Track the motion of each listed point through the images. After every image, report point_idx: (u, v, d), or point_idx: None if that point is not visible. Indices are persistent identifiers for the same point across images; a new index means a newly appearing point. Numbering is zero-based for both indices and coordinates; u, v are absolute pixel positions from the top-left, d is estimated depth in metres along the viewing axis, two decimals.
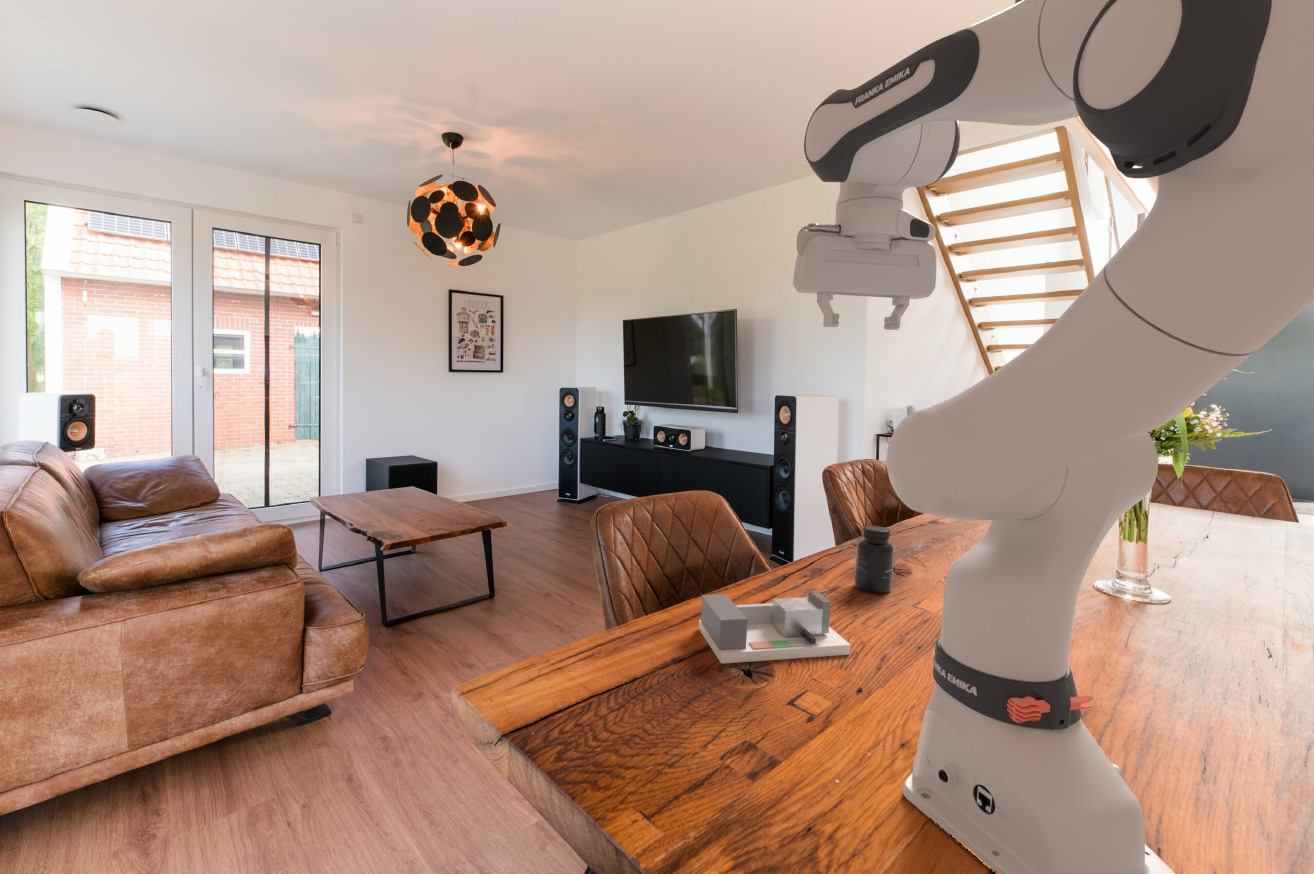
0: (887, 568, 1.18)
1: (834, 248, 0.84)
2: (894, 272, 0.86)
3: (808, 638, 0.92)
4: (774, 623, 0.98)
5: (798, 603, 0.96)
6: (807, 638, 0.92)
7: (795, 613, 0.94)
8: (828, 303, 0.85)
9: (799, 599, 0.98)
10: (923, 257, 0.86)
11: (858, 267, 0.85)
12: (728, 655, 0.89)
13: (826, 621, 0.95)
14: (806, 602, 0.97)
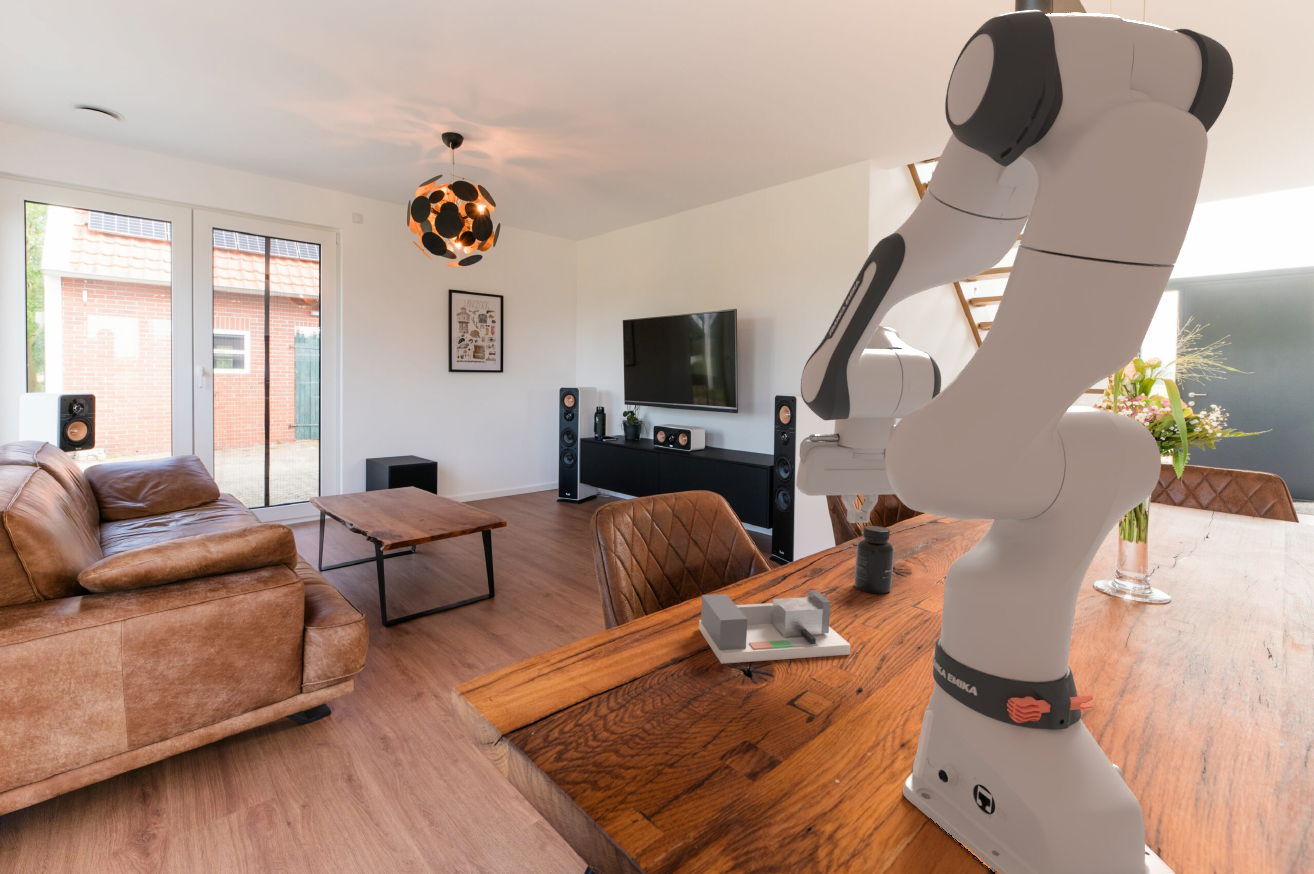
0: (887, 568, 1.18)
1: (833, 458, 0.93)
2: None
3: (808, 638, 0.92)
4: (774, 623, 0.98)
5: (798, 603, 0.96)
6: (807, 638, 0.92)
7: (795, 613, 0.94)
8: (852, 504, 0.95)
9: (799, 599, 0.98)
10: None
11: (855, 473, 0.94)
12: (728, 655, 0.89)
13: (826, 621, 0.95)
14: (806, 602, 0.97)
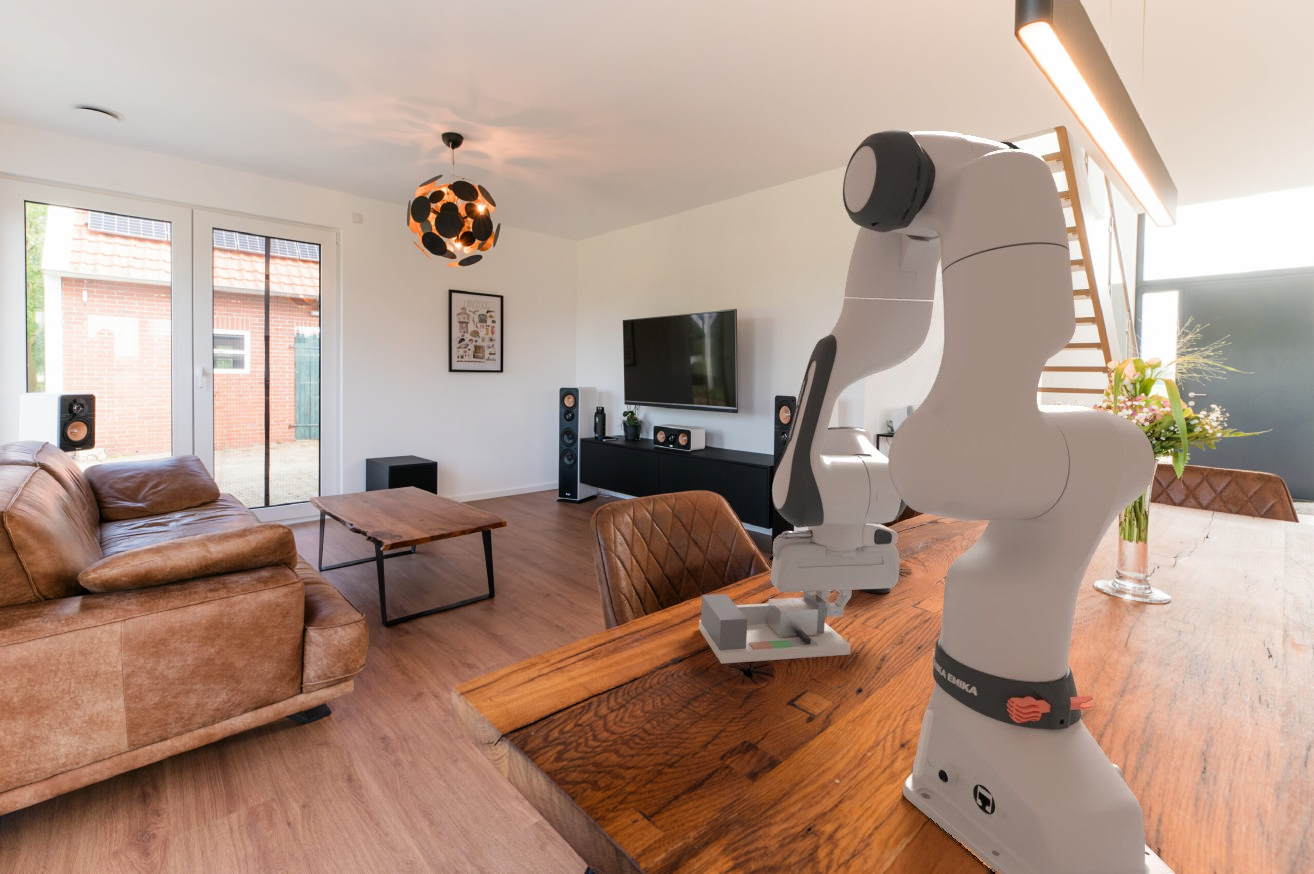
0: None
1: (806, 556, 0.94)
2: (861, 571, 0.96)
3: (803, 638, 0.92)
4: (769, 623, 0.98)
5: (794, 604, 0.96)
6: (802, 638, 0.92)
7: (790, 613, 0.94)
8: (826, 599, 0.96)
9: (794, 599, 0.98)
10: (887, 556, 0.96)
11: (828, 570, 0.95)
12: (728, 655, 0.89)
13: (821, 621, 0.95)
14: (801, 603, 0.97)
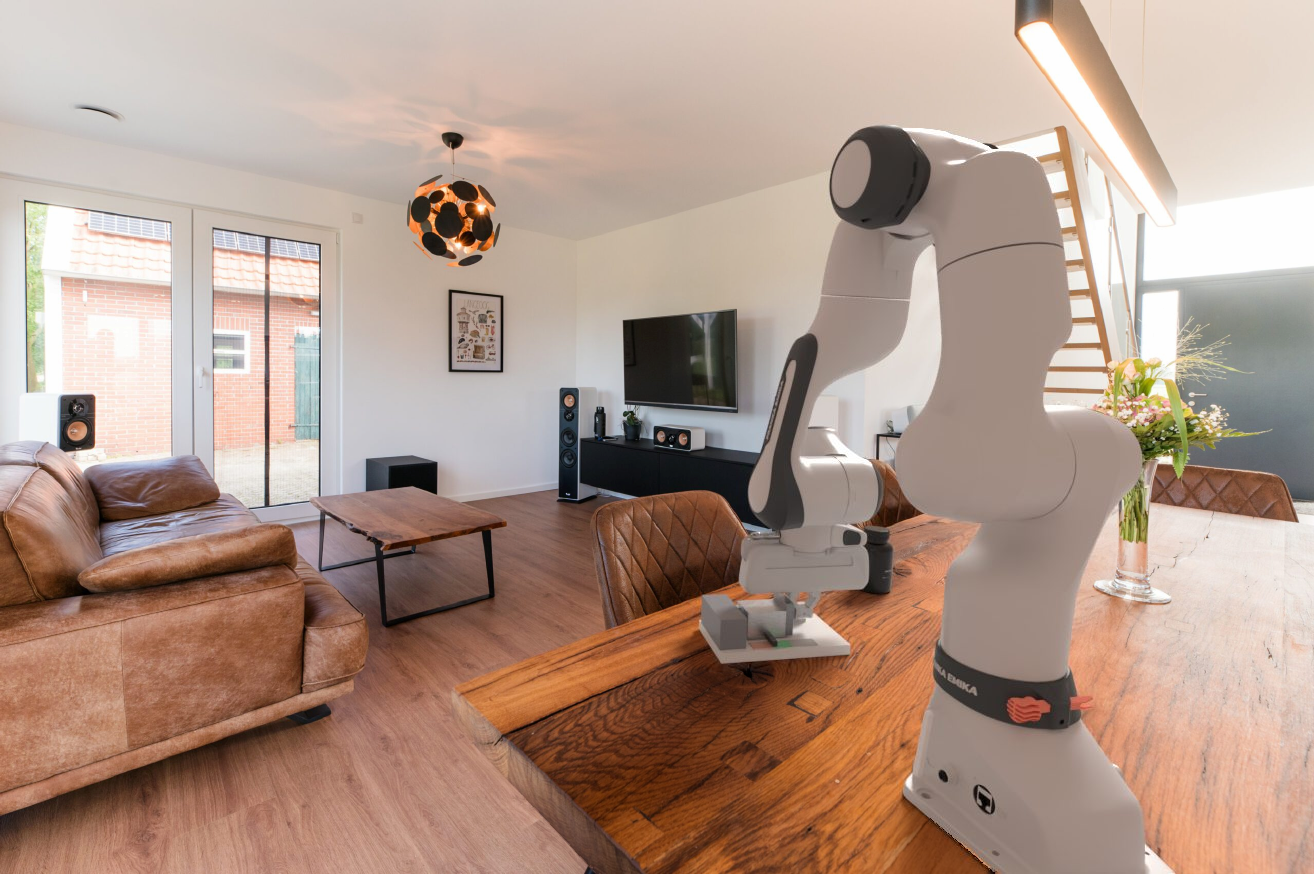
0: (887, 568, 1.18)
1: (774, 557, 0.93)
2: (830, 572, 0.95)
3: (770, 640, 0.91)
4: None
5: (762, 605, 0.95)
6: (769, 640, 0.91)
7: (758, 615, 0.93)
8: (795, 601, 0.95)
9: (764, 601, 0.97)
10: (856, 557, 0.95)
11: (797, 571, 0.94)
12: (728, 655, 0.89)
13: (790, 623, 0.94)
14: (770, 604, 0.96)
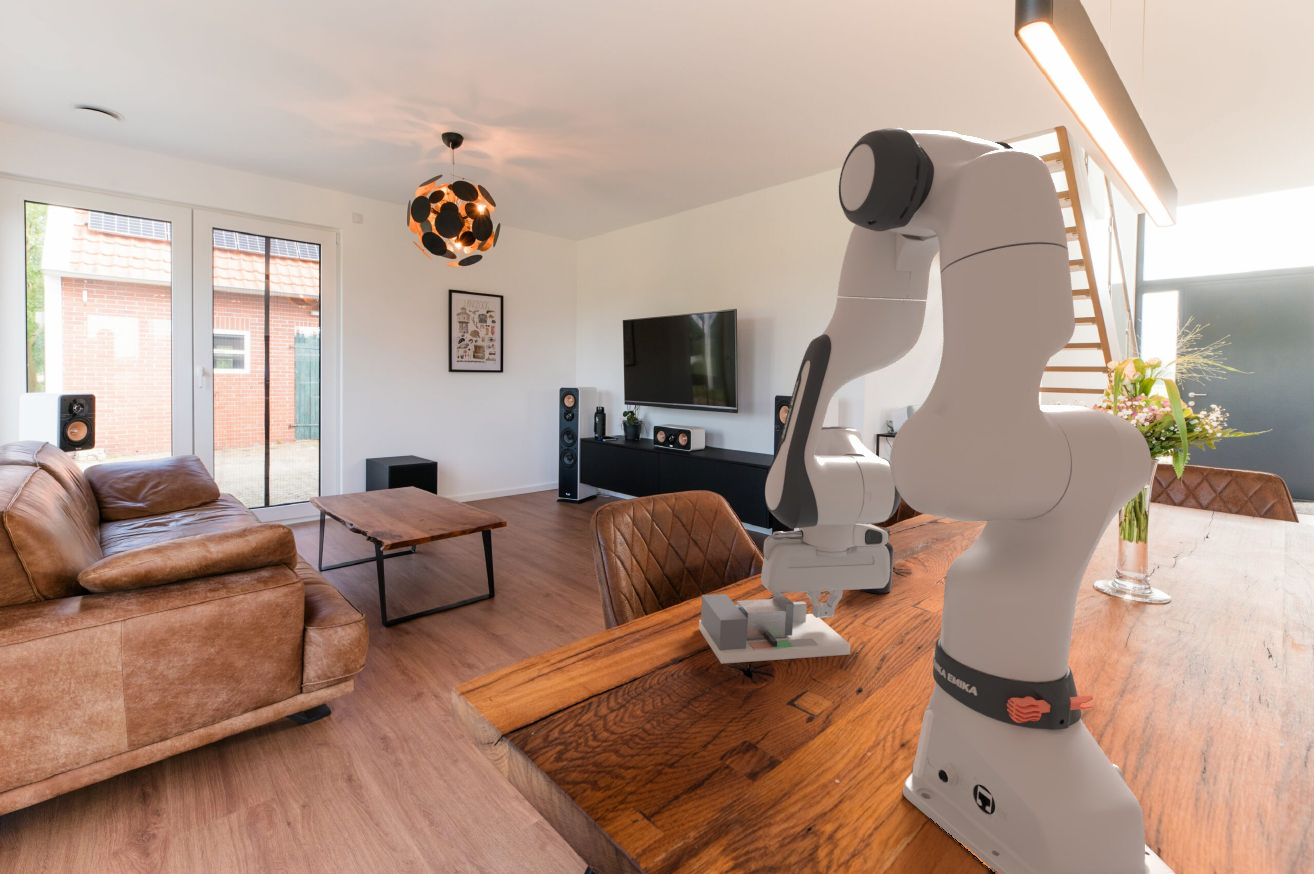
0: None
1: (797, 556, 0.94)
2: (852, 571, 0.96)
3: (770, 640, 0.91)
4: None
5: (762, 605, 0.95)
6: (769, 640, 0.91)
7: (757, 615, 0.93)
8: (816, 600, 0.96)
9: (763, 601, 0.97)
10: (877, 556, 0.96)
11: (819, 570, 0.95)
12: (728, 655, 0.89)
13: (789, 623, 0.94)
14: (770, 604, 0.96)
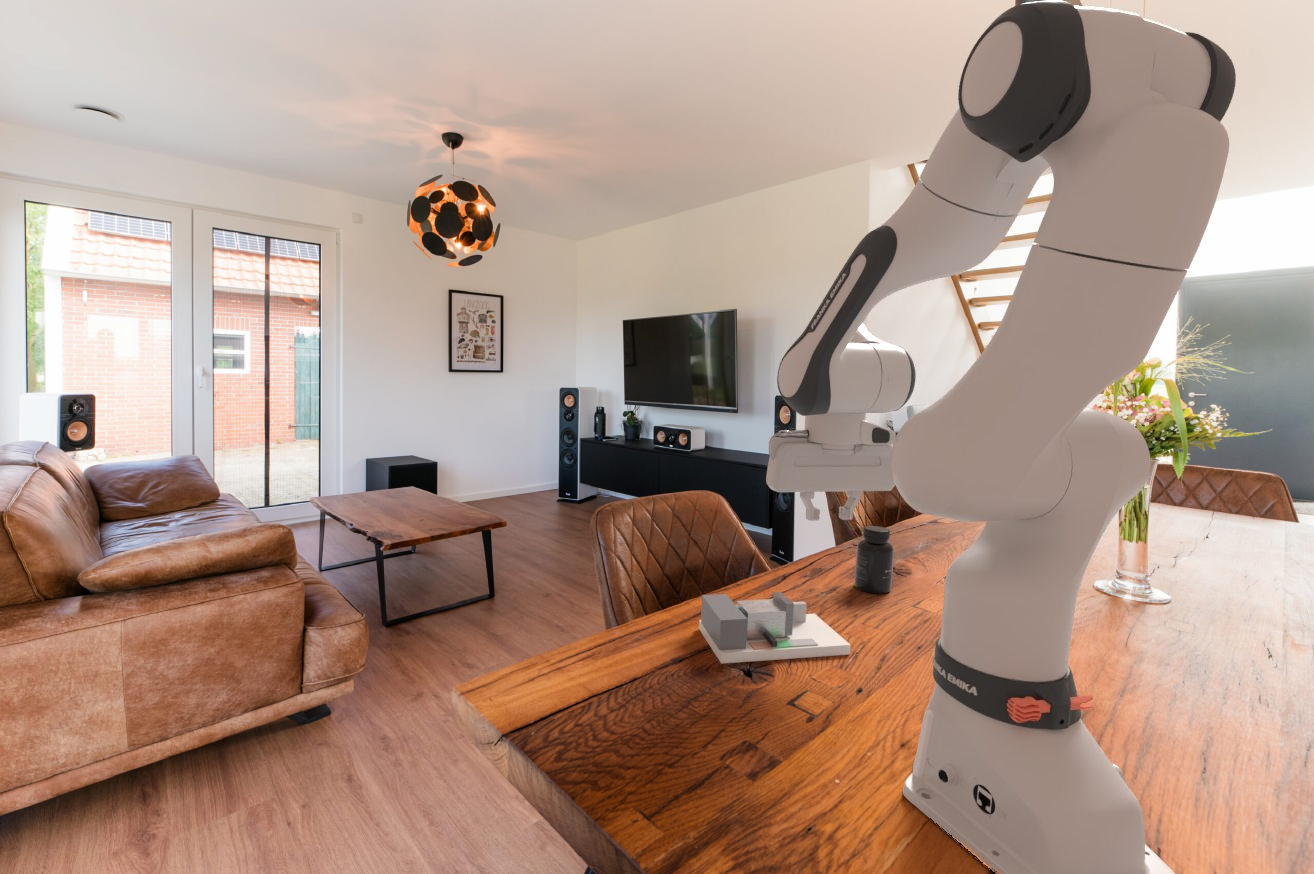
0: (887, 568, 1.18)
1: (802, 454, 0.92)
2: (858, 472, 0.94)
3: (770, 640, 0.91)
4: None
5: (762, 605, 0.95)
6: (769, 640, 0.91)
7: (757, 615, 0.93)
8: (810, 501, 0.94)
9: (763, 601, 0.97)
10: (884, 457, 0.94)
11: (825, 469, 0.93)
12: (728, 655, 0.89)
13: (789, 623, 0.94)
14: (770, 604, 0.96)
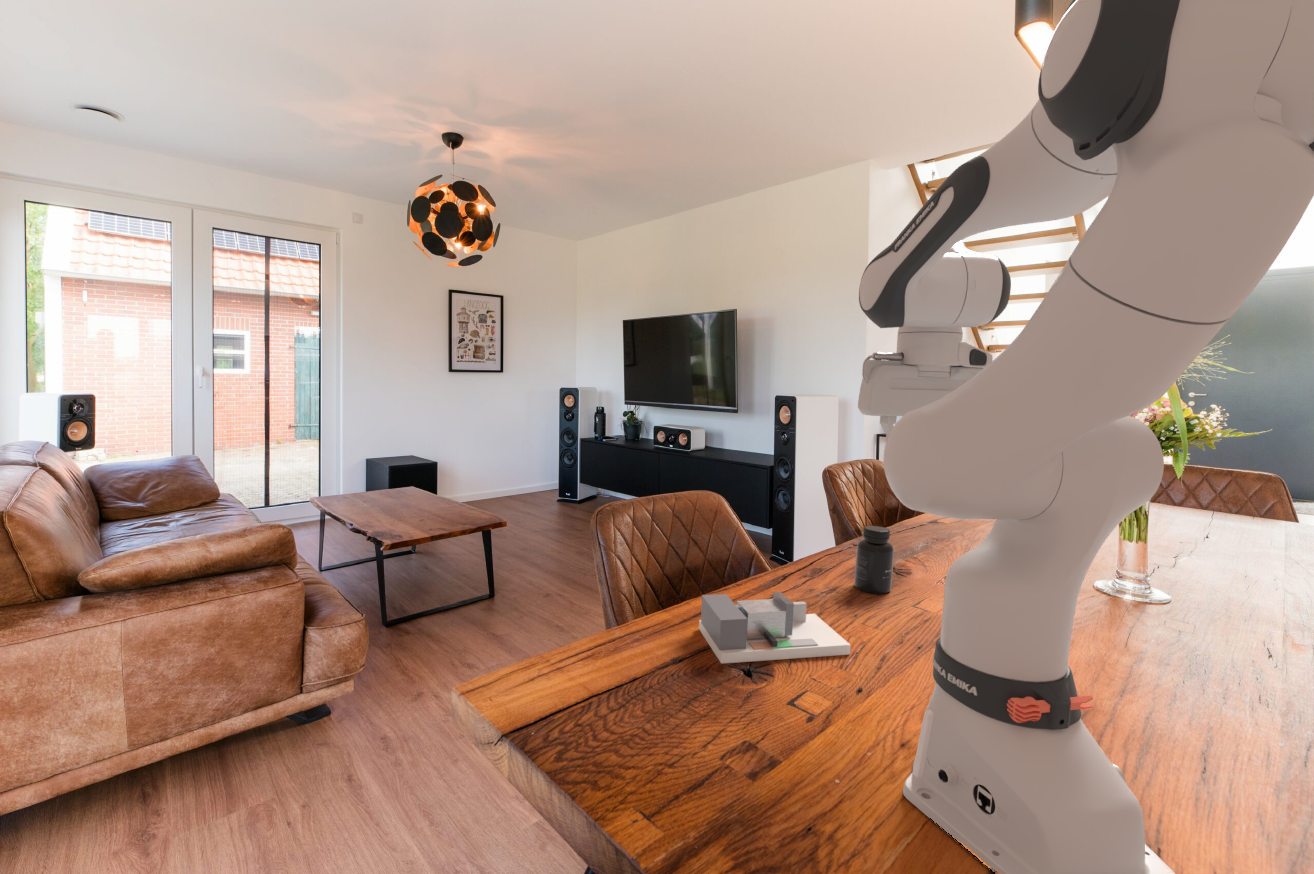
0: (887, 568, 1.18)
1: (898, 377, 0.89)
2: None
3: (770, 640, 0.91)
4: None
5: (762, 605, 0.95)
6: (769, 640, 0.91)
7: (757, 615, 0.93)
8: (892, 426, 0.91)
9: (763, 601, 0.97)
10: None
11: (920, 393, 0.90)
12: (728, 655, 0.89)
13: (789, 623, 0.94)
14: (770, 604, 0.96)
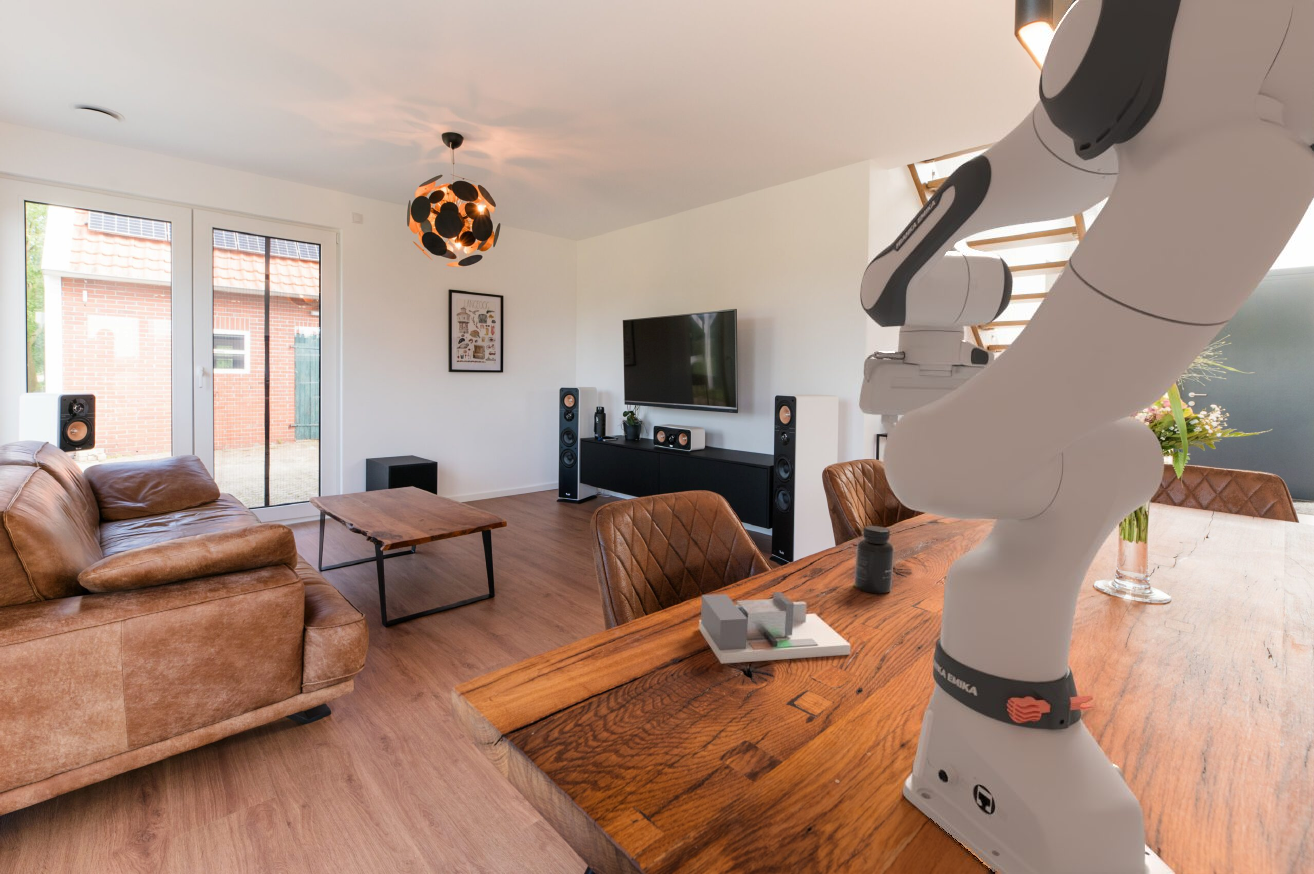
0: (887, 568, 1.18)
1: (900, 375, 0.89)
2: None
3: (770, 640, 0.91)
4: None
5: (762, 605, 0.95)
6: (769, 640, 0.91)
7: (757, 615, 0.93)
8: (893, 425, 0.91)
9: (763, 601, 0.97)
10: None
11: (922, 392, 0.90)
12: (728, 655, 0.89)
13: (789, 623, 0.94)
14: (770, 604, 0.96)
